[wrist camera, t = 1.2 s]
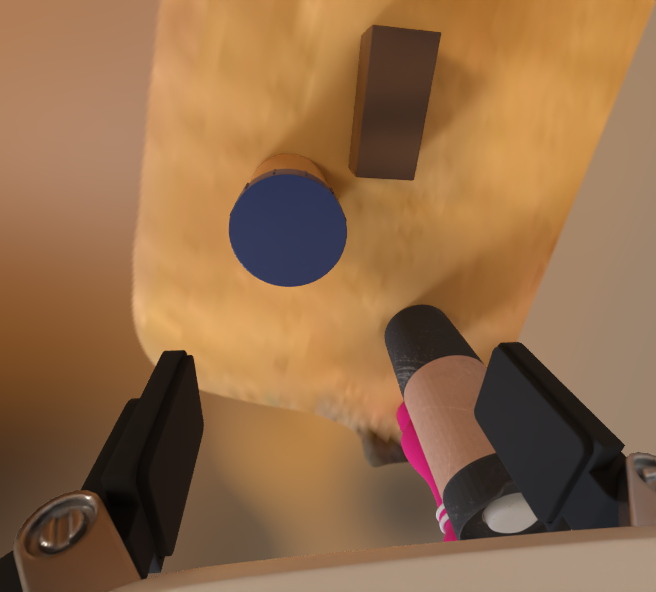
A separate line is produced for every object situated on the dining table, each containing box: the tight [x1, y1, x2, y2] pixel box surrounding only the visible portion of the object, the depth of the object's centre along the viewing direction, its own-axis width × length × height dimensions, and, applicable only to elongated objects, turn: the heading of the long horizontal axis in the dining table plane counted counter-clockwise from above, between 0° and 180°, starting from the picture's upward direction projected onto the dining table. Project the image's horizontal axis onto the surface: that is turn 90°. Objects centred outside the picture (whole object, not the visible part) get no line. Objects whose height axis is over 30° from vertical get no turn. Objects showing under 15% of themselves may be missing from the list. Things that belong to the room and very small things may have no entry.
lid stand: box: [349, 25, 441, 180], centre depth 26 cm, size 9×4×4 cm, turn 176°
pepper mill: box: [397, 402, 458, 542], centre depth 36 cm, size 7×7×20 cm
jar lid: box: [229, 169, 347, 287], centre depth 22 cm, size 7×7×2 cm
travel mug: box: [385, 305, 549, 541], centre depth 30 cm, size 8×8×20 cm
